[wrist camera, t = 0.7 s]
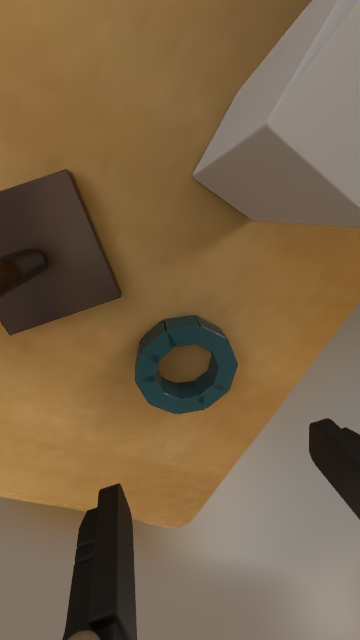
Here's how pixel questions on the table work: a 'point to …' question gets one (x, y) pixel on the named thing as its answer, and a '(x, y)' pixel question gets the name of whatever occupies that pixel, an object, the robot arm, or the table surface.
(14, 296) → the stand
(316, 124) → the milk carton
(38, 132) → the table surface
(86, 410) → the table surface
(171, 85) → the table surface
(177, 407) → the ring
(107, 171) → the table surface
